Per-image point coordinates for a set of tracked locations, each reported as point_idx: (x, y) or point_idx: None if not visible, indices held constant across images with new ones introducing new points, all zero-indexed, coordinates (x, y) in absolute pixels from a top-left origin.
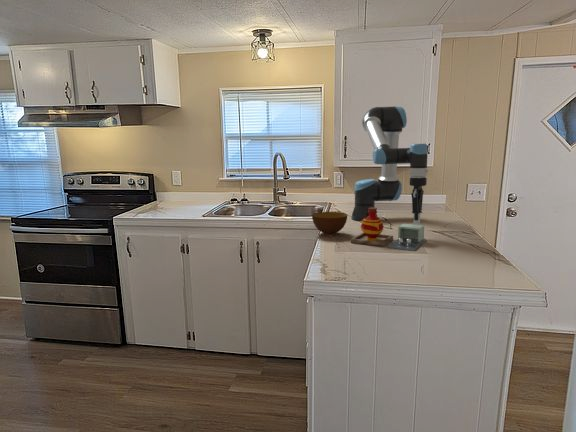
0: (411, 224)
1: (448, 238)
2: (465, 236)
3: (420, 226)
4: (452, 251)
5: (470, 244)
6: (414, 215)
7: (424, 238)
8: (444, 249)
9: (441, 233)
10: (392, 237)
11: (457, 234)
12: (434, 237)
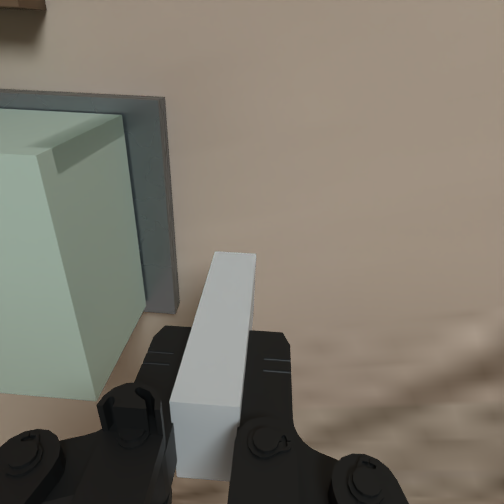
0: (57, 281)
1: (316, 411)
2: (409, 476)
3: (17, 378)
4: (14, 435)
5: (212, 489)
6: (183, 374)
7: (168, 305)
8: (24, 407)
9: (481, 369)
10: (6, 7)
11: (463, 446)
12: (315, 341)
